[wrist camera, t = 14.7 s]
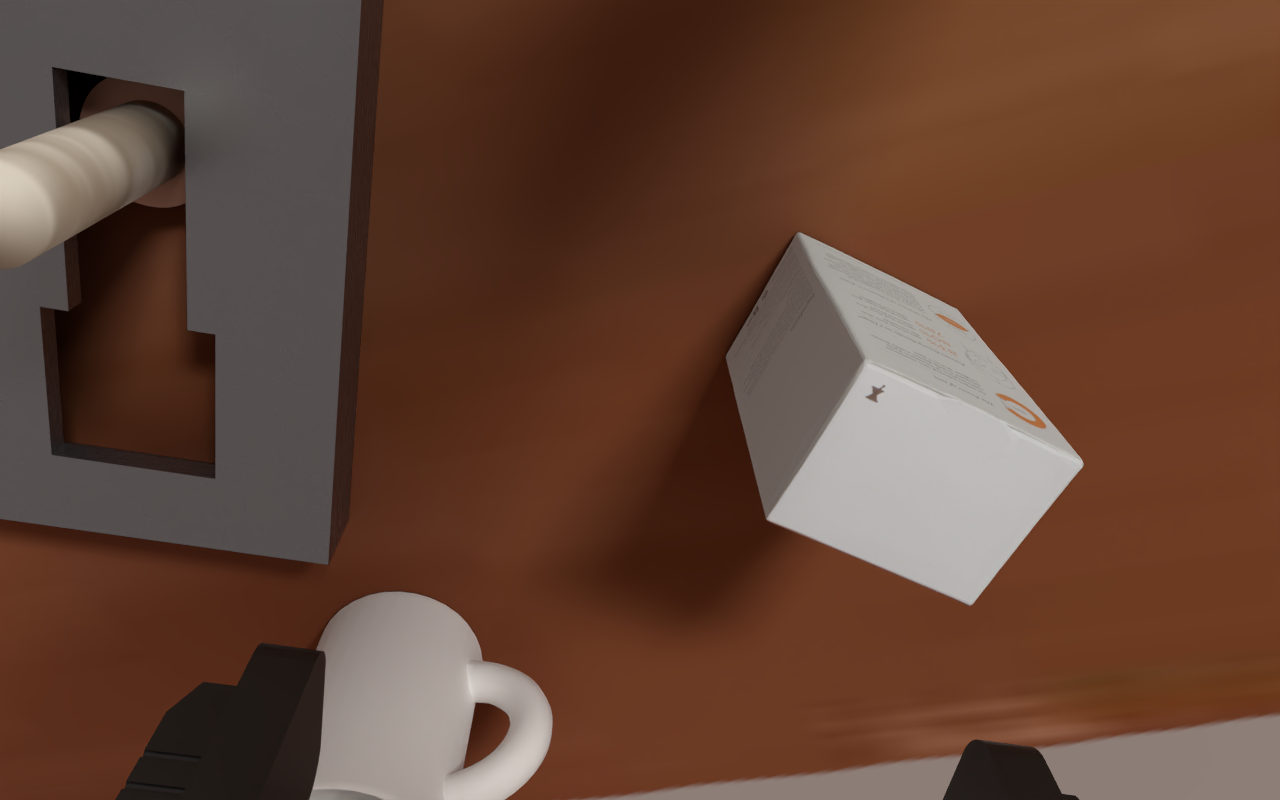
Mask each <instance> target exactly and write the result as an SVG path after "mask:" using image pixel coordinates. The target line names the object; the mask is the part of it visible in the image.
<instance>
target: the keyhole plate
mask: <svg viewBox="0 0 1280 800" xmlns="http://www.w3.org/2000/svg"><path fill="white" fill-rule="evenodd" d="M383 2H384V0H0V149H3V148H5V147H8V146H11V145H14V144H16V143H19V142H22V141H24V140H27V139H30V138H32V137H35V136H38V135H40V134H43V133H46V132H49V131H51V130H54V129H57V128H59V127H62V126H65V125H67V124H70V110H69V94H68V78H67V70H72V71H77V72H83V73H89V74H94V75H100V76H105V77H111V78H116V79H122V80H127V81H133V82H138V83H144V84H150V85H155V86H161V87H166V88H172V89H177V90H183V91H184V107H185V183H186V260H187V330H190V331H196V332H202V333H209V334H215V464H213V463H207V462H200V461H193V460H186V459H180V458H173V457H166V456H159V455H152V454H146V453H139V452H132V451H125V450H119V449H112V448H105V447H98V446H91V445H85V444H78V443H71V442H64V435H63V422H62V408H61V395H60V381H59V368H58V354H57V341H56V327H55V314H54V309H58V310H64V311H69V310H71V309H72V308H74V307H75V306H76V305H78V304H79V303H81V288H80V272H79V256H78V240H77V234H76V235H74V236H72V237H71V238H69V239H67V240H65V241H64V242H62V243H60V244H58V245H57V246H55V247H53V248H51V249H50V250H48V251H46V252H45V253H43V254H41V255H39V256H38V257H36V258H34V259H32V260H31V261H29V262H27V263H26V264H24V265H21V266H19V267H16V268H13V269H6V270H0V519H5V520H12V521H19V522H26V523H33V524H41V525H48V526H55V527H62V528H69V529H76V530H83V531H91V532H98V533H105V534H112V535H119V536H126V537H133V538H141V539H148V540H155V541H162V542H169V543H176V544H183V545H191V546H198V547H205V548H212V549H219V550H226V551H233V552H241V553H248V554H255V555H262V556H269V557H276V558H283V559H291V560H298V561H305V562H312V563H319V564H326V565H328V564H329V562H330V560H331V557H332V555H333V553H334V551H335V549H336V547H337V544H338V542H339V540H340V538H341V536H342V533H343V531H344V529H345V527H346V525H347V522H348V519H349V504H350V489H351V474H352V460H353V445H354V430H355V415H356V400H357V386H358V371H359V356H360V341H361V327H362V312H363V297H364V282H365V268H366V253H367V238H368V223H369V208H370V194H371V179H372V164H373V149H374V135H375V120H376V105H377V90H378V76H379V61H380V46H381V31H382V17H383Z"/></svg>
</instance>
